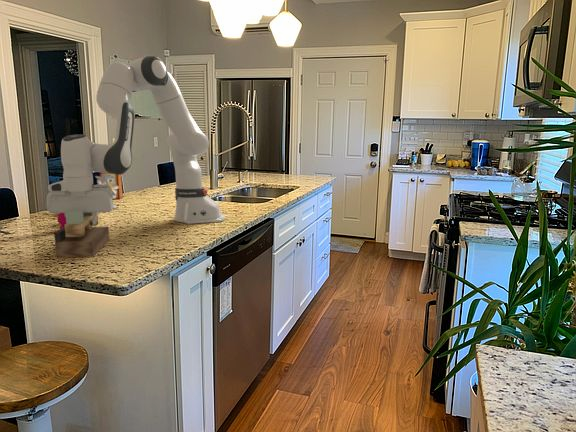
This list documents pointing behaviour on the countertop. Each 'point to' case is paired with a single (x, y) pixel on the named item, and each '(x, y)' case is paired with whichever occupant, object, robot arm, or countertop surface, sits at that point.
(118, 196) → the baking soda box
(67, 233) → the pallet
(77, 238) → the block
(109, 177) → the flower vase
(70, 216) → the block
